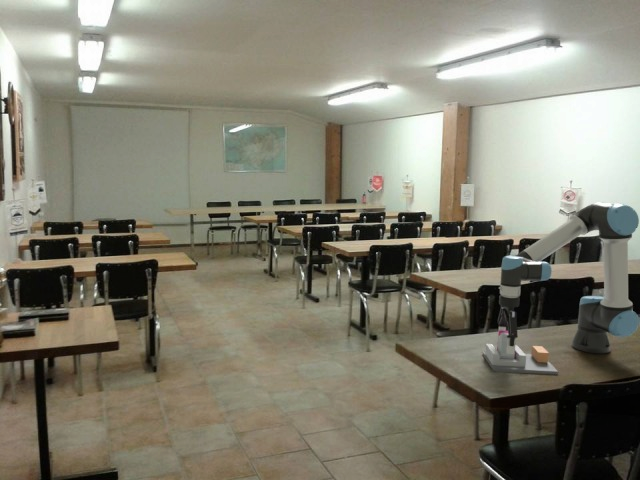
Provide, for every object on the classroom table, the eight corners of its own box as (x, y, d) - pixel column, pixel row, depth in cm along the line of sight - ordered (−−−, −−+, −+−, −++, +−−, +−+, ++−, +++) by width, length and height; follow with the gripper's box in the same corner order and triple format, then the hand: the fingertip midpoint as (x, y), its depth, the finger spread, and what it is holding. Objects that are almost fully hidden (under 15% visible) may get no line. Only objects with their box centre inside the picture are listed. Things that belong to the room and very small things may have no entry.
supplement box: (514, 363, 213) (516, 335, 212) (499, 362, 214) (501, 334, 212) (510, 358, 219) (513, 330, 218) (495, 357, 220) (497, 329, 218)
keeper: (541, 355, 222) (542, 346, 222) (547, 362, 214) (548, 352, 214) (531, 355, 222) (532, 345, 222) (537, 362, 215) (538, 352, 214)
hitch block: (541, 357, 225) (542, 343, 224) (558, 374, 206) (559, 360, 205) (482, 354, 226) (483, 341, 226) (493, 371, 208) (494, 356, 207)
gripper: (492, 288, 225) (488, 337, 228) (508, 303, 201) (504, 358, 204) (510, 288, 225) (506, 338, 228) (529, 304, 200) (524, 359, 203)
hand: (505, 347), depth 216 cm, fingers open, 13 cm apart
